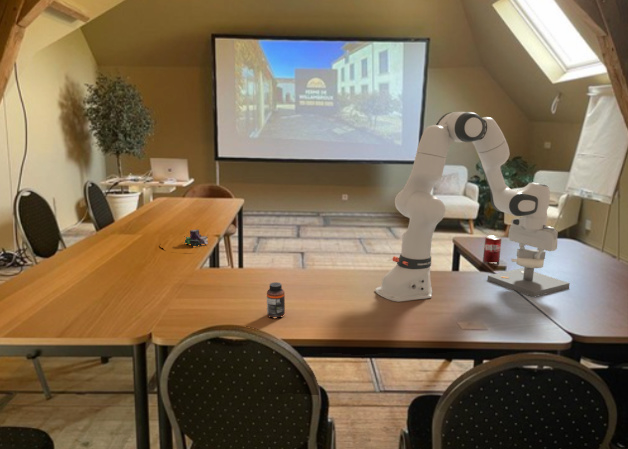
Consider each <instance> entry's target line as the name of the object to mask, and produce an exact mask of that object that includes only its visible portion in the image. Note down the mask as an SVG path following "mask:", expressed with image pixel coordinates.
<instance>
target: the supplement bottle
mask: <svg viewBox="0 0 628 449" xmlns="http://www.w3.org/2000/svg"><path fill="white" fill-rule="evenodd" d="M285 296H286V295H285V290H284V289H283V287H282V283H281V282H276V281H275V282H270V283H269V288H268V289H267V291H266V314H267V317H268V316H270V317H281V316H283V315H284V314H285V315H286V312H285V311H286V309H285V308H286V304H285V302H286V301H285V298H286V297H285ZM285 315H284V316H285ZM284 316H283V317H284ZM270 317H269V318H270Z"/></svg>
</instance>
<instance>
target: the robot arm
mask: <svg viewBox="0 0 628 449" xmlns="http://www.w3.org/2000/svg"><path fill="white" fill-rule="evenodd" d="M454 142H455V143H472V145H473V146H474V148H475V152H476V153H477V155H478V157H479V160H480V163H481V168H482V171H483V174H484V177H485V179H486V183H487V185H488V188H489V191H490V192H489V194H490V204H491V206H492V208H493V209H494V210H495V211H498V212H499V213H500V212H501V213H506V214H508V215H511V216H513V217H514V216H515V218H512V219H511V221H510V222H511V223H510V224H511V225H510V226H509V229H508V234H507V235H508V240H509V241H510V242H514V243H517V244H518V246H519V249H526V248H525V246H529V247H532V248H535V249H536V250H537V251H538V253H537V254H534V258H536V259H540V254H542V252H543V251H548V252H554V251H556V250H557V249H558V234H559V232H558V230H557V229H556V228H555V227H553V226H552V227H551V226H548V225H547V223H548V208H549V206H550V201H551V200H550V197H551V195H550V194H551V192H550V187H549V186H548V185H546V184H543V183H538V182H534V181H533V182H529V183H528V184H527V185H525V186H524V187H521V188H520V189H518V190H515V189H512V188H510V187H509V186H508V185H507V184H506V181H505V179H504V176H503V173H502V168H501V166H502V165H504V164H505V163H506V162H507V161H508V160H509V157H510V156H511V155H510V148H509V145H508V142H507V139H506V138H505V135H504V133H503V131H502V130H501V128H500V126H499V125H498V123H497V122H496V120H495V119H494V118H493V117H489V116H484V117H481V116H480V115H479V114H477V113H475V112H472V111H454V112H448V113H445V114H443V115H442V116H441V117H440V118H439V119H438V121H437V123H435V124H431V125H428V126H427V127H426V128H425V129H424V130H423V132H422V134H421V136H420V141H419V143H418V146H417V150H416V154H415V157H414V161H413V166H412V169H411V172H410V174H409V177H408V179H407V181H406V183H405V185H404V186H403V188H402V189H401V190H400V191H399V192H398V193H397V194H396V196H395V199H394V207H395V208H396V210H397V211H398V212H399V213H400V214H401V215H402V216H404V217H406V218H408V219H409V222H408V226H407V229H406V231H404V233H403V234H402V236H401V249H400V250H401V251H400V252H401V253H400V254H399V256H395V255H394V256H393V257H392V262H394V263H396V265H395V266H394V267H392V268H391V269H390V271H388V272H387V273H386V274H385V275H384V276H383V278H382V281H381V285H380V286H378V287H375V290H374V291H375V293H376V294H378V295H379V296H381V297H382V298H384V299H386V300H389V301H391V302H407V301H415V300H425V299H430V298H431V299H432V295H433V288H432V282H431V281H432V280H431V266H432V256H431V254H432V252H431V250H432V241H433V240H432V239H433V235H434V232H435V230H436V227H437V225H438V224H439V223H440V222H441V221H442V220H443V219H444V216H445V214H446V206H445V204H444V202H443V201H442V200H441V199H440V198H438V197H437V196H436V195H434V194H431V192H432V190H433V188H434V187H435V185H436V184H437V183H439V181H441V179H442V178H443V177H442V176H443V174H444V169H445V164H446V162H447V157H448V152H449V149H450V147H451V145H452V144H453V143H454ZM516 217H517V218H516Z"/></svg>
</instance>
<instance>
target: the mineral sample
mask: <svg viewBox="0 0 628 449" xmlns="http://www.w3.org/2000/svg"><path fill="white" fill-rule="evenodd" d="M189 234H190V235H189V236H190V237H186V240H185V242H184V244H185V243H187V244H191V245H192V246H198V245H200V244H208V245H209V242H208V241H209V240H208V235H207V236H206V235H205V236H202V234H200V229H191V230H189ZM192 246H191V247H192ZM200 246H201V245H200Z"/></svg>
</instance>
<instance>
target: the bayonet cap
mask: <svg viewBox="0 0 628 449" xmlns="http://www.w3.org/2000/svg"><path fill="white" fill-rule="evenodd" d="M537 253H538V251H537V249H536V248H535V249H533V248H531V249H529V248H525V249H520V248H517V250H516V258H511V262H512V263H516V265H517V266H520V267H522V268H524V267H527V268H534V269H541V268H544V264H545V263H544V261H545V259H546V250H544V251H543V252H542V254H540V259H536V258H534V254H537Z"/></svg>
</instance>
